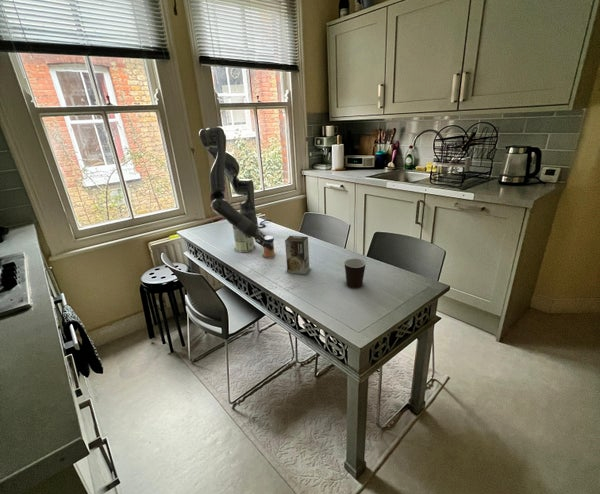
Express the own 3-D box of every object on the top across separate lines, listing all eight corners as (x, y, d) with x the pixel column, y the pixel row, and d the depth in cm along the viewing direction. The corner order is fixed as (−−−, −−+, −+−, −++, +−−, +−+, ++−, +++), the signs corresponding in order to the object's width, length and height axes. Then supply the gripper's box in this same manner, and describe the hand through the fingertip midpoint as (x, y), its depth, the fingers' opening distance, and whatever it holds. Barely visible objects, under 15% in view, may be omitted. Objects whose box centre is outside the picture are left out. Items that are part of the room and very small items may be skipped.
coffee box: (309, 268, 148) (308, 236, 142) (305, 274, 143) (304, 241, 136) (291, 266, 151) (289, 235, 144) (286, 272, 145) (284, 240, 139)
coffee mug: (360, 291, 127) (360, 269, 123) (340, 286, 132) (340, 264, 127) (370, 279, 136) (371, 258, 132) (351, 275, 140) (352, 254, 136)
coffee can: (238, 245, 180) (235, 221, 174) (256, 245, 179) (253, 221, 173) (233, 252, 170) (229, 227, 165) (252, 252, 169) (249, 227, 164)
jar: (267, 252, 168) (266, 236, 164) (276, 254, 165) (275, 237, 161) (262, 256, 163) (260, 239, 159) (270, 258, 161) (269, 241, 157)
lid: (266, 238, 164) (266, 235, 164) (275, 239, 162) (275, 236, 161) (260, 242, 160) (259, 238, 159) (269, 243, 157) (269, 240, 157)
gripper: (250, 225, 149) (277, 246, 155) (251, 217, 162) (275, 237, 168) (240, 237, 151) (268, 257, 157) (241, 227, 164) (266, 247, 170)
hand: (272, 246), depth 163 cm, fingers closed on jar, lid, 5 cm apart
